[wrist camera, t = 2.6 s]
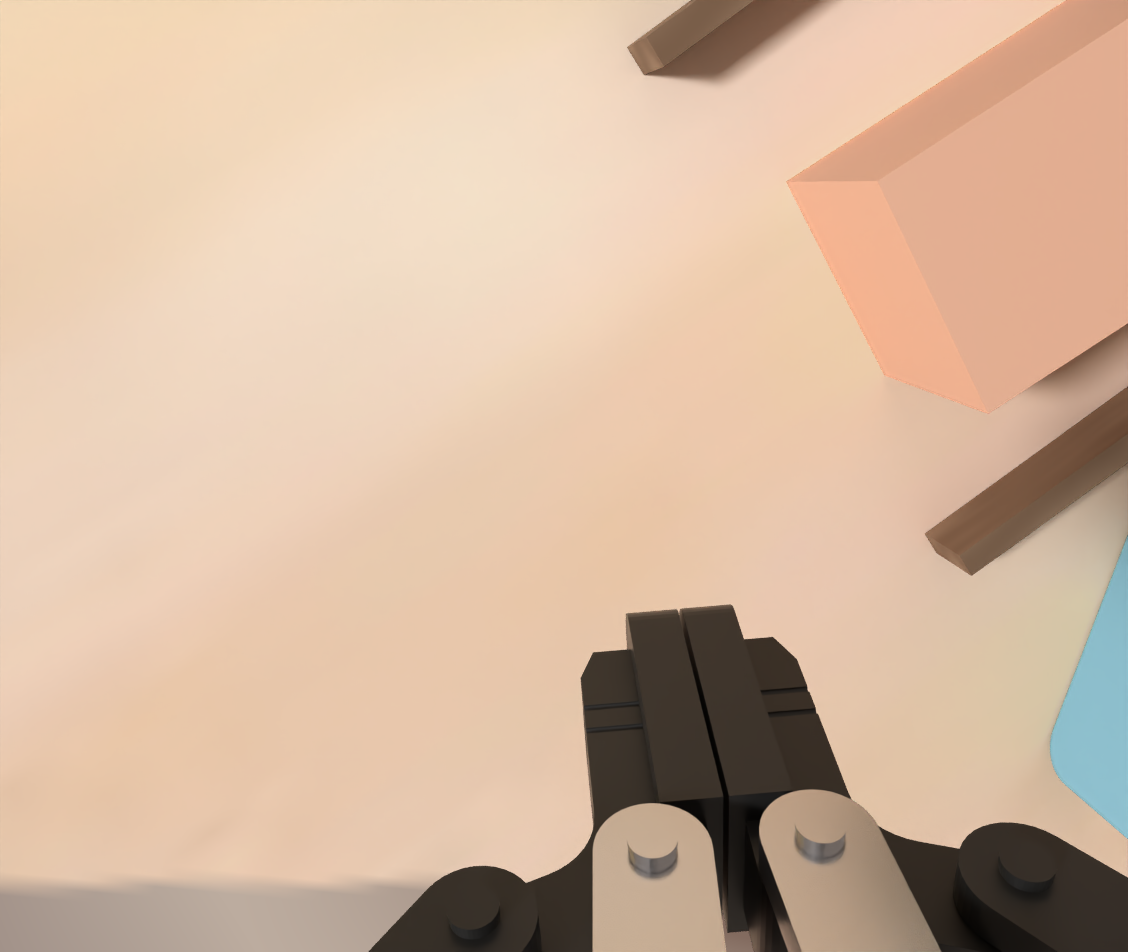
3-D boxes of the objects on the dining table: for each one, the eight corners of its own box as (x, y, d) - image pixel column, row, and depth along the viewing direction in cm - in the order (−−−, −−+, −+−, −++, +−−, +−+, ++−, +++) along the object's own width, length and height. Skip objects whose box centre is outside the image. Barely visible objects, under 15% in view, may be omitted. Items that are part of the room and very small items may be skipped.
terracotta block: (784, 181, 36) (877, 180, 29) (1077, -9, 36) (1236, -52, 29) (882, 374, 39) (988, 413, 32) (1155, 197, 39) (1318, 199, 32)
